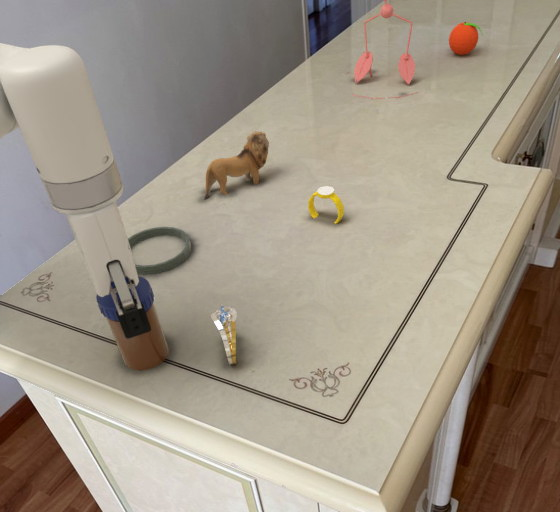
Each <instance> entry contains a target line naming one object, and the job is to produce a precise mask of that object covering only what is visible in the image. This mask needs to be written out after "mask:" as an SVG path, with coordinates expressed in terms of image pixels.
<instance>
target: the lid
mask: <svg viewBox="0 0 560 512" xmlns="http://www.w3.org/2000/svg"><path fill="white" fill-rule="evenodd" d="M138 279H139V283H138V285H137V286H135V289H136V292H137V295H138V297H139V300H140V303H143V306H144V309H145V311H147V310H148V309H149V308H150V307H151V306H152V304H153V303H154V302H155V295H154V291H153V288H152V287H151V284H150V282H149V280H148V279H147V278H146V277H143V276H140V275H138ZM125 280H126V283H128V282H129V280H128V277H127V278H125ZM110 283H111V282H110ZM111 286H112V287H115V283H114V282H112V283H111ZM129 291H130V294H131V296H132V297H133V295H132V292H131V289H129ZM116 295H117V298H118V300H119V301H121V299H120V297H119V294H118V293H116ZM95 299H96V303H97V305H98V309H99V311H100V314H102V315H103V317H104V318H105V319H106V318H108V319H111V320H115V321H119V319H118V317H117V314H116V311H117V308H116V306H115V303H114V300H113V298H112V295H111V293H110V292H109V295H105V296H104V297H100V296H98V295H97V294H96V298H95Z"/></svg>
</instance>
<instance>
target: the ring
mask: <svg viewBox="0 0 560 512" xmlns="http://www.w3.org/2000/svg"><path fill="white" fill-rule="evenodd" d="M210 317H211V320H212V321H213V323H214V324H215V326H216V328H217V329H218V332H219V334H220V337H221V338H222V339H221V340H222V342H223V347H224V350H225V354H226V358H227V360H228V364H229V365H236V364H237V349H236V348H237V341H236V340H237V339H236V338H237V337H236V336H237V329H236V328H237V324H236V321H237V317H238V313H237V310H236V309H235V308H234V307H233V306H227V307H225V306H224V304H223V303H222V304H220V309H216V310H215V311H214V312H211V314H210Z"/></svg>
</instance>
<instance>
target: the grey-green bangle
mask: <svg viewBox="0 0 560 512" xmlns="http://www.w3.org/2000/svg"><path fill="white" fill-rule="evenodd" d="M164 236H169V237H176V238H179V239H181V240H182V241H184V242H185V246H184V248H183V249H182V250H181V251H180V252H179V253H178V254H177V255H175V256H174V257H172V258H170V259H168V260H166V261H162V262H158V263H155V264H147V265H142V264H135V267H136V271H137V275H143V276H144V275H146V276H147V275H154V274H155V275H156V274H160V273H164V272H167V271H170V270H172V269H174V268H177V267H179V266H180V265H181V264H183V262H185V261H186V260H187V259H188V257H189V256H190V255H191V252H192V243H191V240H190V237H189V234H188V233H187V232H185V231H184V230H182V229H180V228H177V227H175V226H174V227H172V226H158V227H152V228H147V229H144V230H141V231H139V232H136V233H134V234H133V235H131V236H130V237H127V238H128V241H129V245H130V248H131V249H132V247H134V246H135V245H136V244H138V243H140V242H142V241H144V240H147V239H150V238H154V237H164Z"/></svg>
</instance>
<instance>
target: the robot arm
mask: <svg viewBox="0 0 560 512" xmlns="http://www.w3.org/2000/svg"><path fill="white" fill-rule="evenodd" d="M18 128H19V130H20V132H21V135H22V138H23V140H24V142H25V144H26V147H27V149H28V152H29V154H30V156H31V159H32V162H33V163H34V166H35V168H36V170H37V173H38V175H39V178H40V180H41V183H42V185H43V187H44V190H45V192H46V195H47V197H48V199H49V201H50V204H51V206H52V209H54V210H55V211H56V212H57V213H60V214H64V215H66V218H67V220H68V224H69V227H70V230H71V232H72V235H73V237H74V240H75V242H76V245H77V247H78V249H79V252H80V254H81V257H82V260H83V262H84V264H85V266H86V269H87V272H88V275H89V277H90V280H91V282H92V284H93V287H94V291H95V293H96V296H97V295H98V296H100V297H104V296H105V295H109V292H110V293H111V295H112V298H113V300H114V303H115V306H116V308H117V311H116V314H117V317H118V319H119V322H120V324H121V327H122V330H123V332H124V335H125V337H126V338H127V339H129V338H132V337H135V336H138V335H141V334H144V333H147V332H150V331H151V326H150V323H149V320H148V317H147V314H146V311H145V309H144V306H143V303H140V300H139V297H138V295H137V292H136V289H135V286H137V285H138V283H139V279H138V276H139V274H137V271H136V267H135V265H136V263H135V259H134V256H133V252H132V247H131V248H130V245H129V241H128V238H129V237H128V235H127V234H128V233H127V232H126V229H125V226H124V222H123V219H122V218H123V217H122V215H121V213H120V209H119V207H118V203H117V201H118V200H119V199H120V198H121V197H122V195H123V193H124V185H123V182H122V178H121V176H120V173H119V169H118V167H117V162H116V160H115V156H114V153H113V149H112V147H111V144H110V141H109V138H108V134H107V131H106V128H105V125H104V122H103V118H102V115H101V113H100V109H99V106H98V102H97V99H96V97H95V94H94V91H93V87H92V84H91V81H90V77H89V74H88V71H87V68H86V66H85V63H84V61H83V59H82V57H81V56H80V55H79V54H78V52H76V51H75V50H74V49H73V48H71V47H68V46H66V45H59V44H48V45H47V44H46V45H39V46H35V47H28V48H27V47H24V46H23V47H22V46H16V45H12V44H8V43H2V42H0V140H1V139H3V138H4V137H5V136H6V135H8V134H9V133H12V132H14V131H15V130H17V129H18ZM127 277H128V280H129V282H128V283H126V280H125V278H127ZM110 282H111V283H112V282H114V283H115V287H112V286H111V283H110ZM129 289H131V292H132V295H133V297H132V296H131V294H130V291H129ZM116 293H118V294H119V297H120V299H121V301H119V300H118V298H117V295H116Z"/></svg>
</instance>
